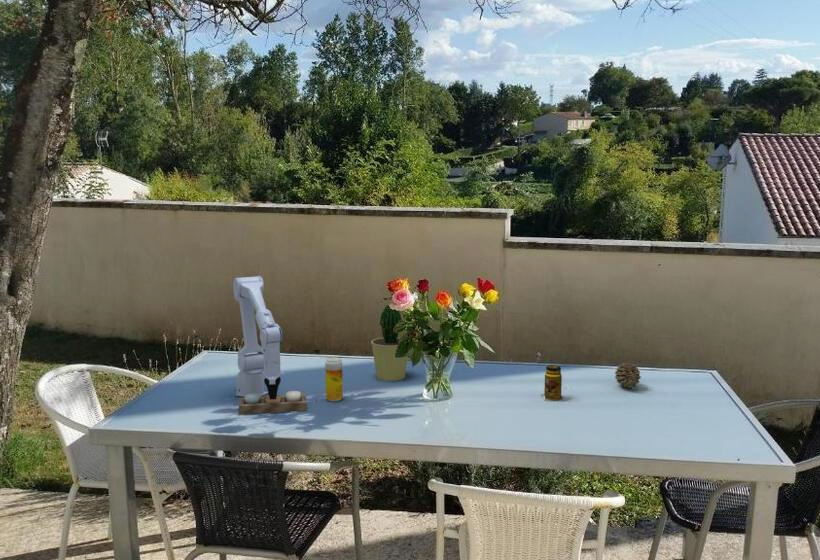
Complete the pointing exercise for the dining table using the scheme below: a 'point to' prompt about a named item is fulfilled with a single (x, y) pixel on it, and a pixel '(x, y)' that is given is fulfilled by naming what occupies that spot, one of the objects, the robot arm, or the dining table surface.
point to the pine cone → (627, 375)
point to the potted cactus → (388, 349)
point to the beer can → (334, 379)
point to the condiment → (553, 383)
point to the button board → (272, 405)
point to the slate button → (252, 398)
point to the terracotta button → (273, 400)
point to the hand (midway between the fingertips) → (273, 398)
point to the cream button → (293, 396)
